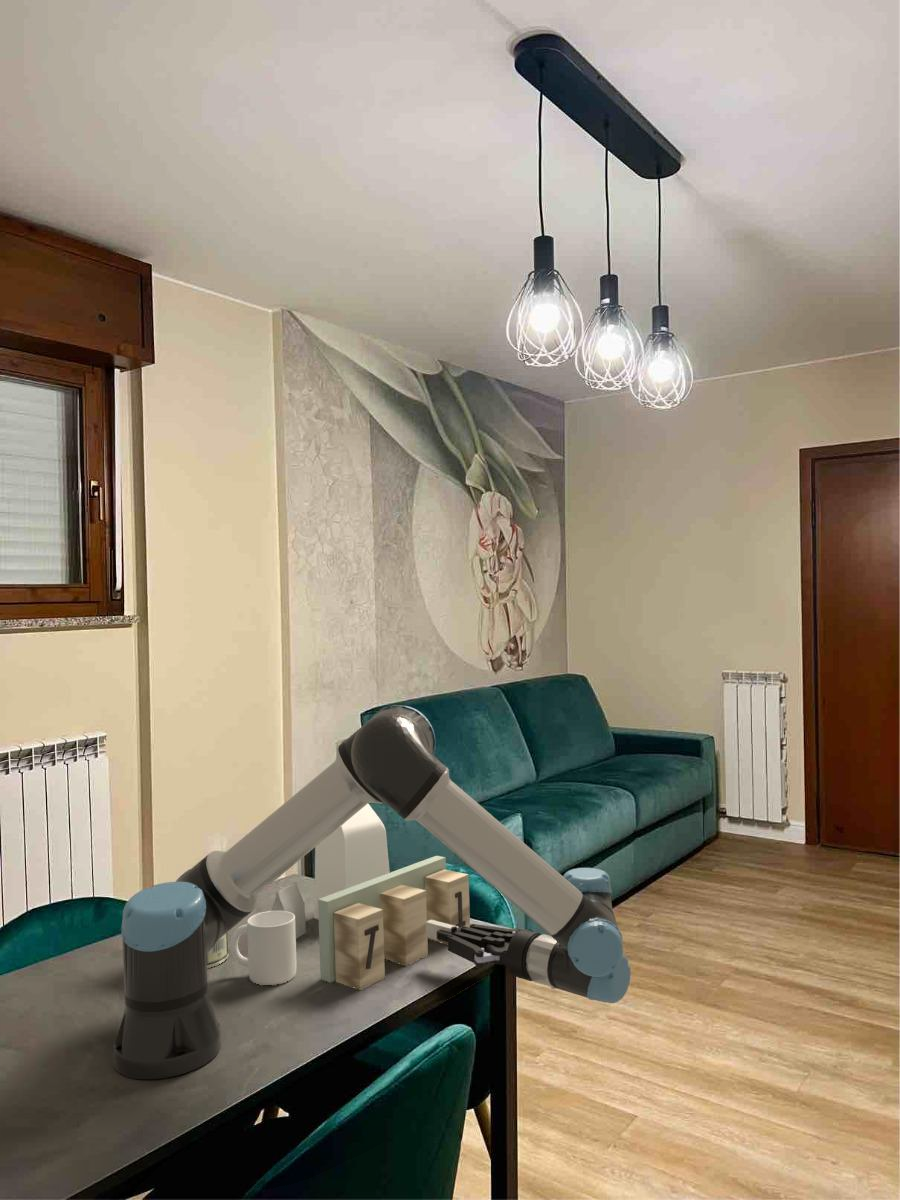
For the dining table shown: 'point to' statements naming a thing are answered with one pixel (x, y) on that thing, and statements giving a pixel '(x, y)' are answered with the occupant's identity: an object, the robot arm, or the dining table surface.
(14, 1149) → the dining table surface
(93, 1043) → the dining table surface
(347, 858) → the milk
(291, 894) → the white juice carton
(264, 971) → the mug
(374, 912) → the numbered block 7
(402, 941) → the plain block
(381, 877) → the rack board
